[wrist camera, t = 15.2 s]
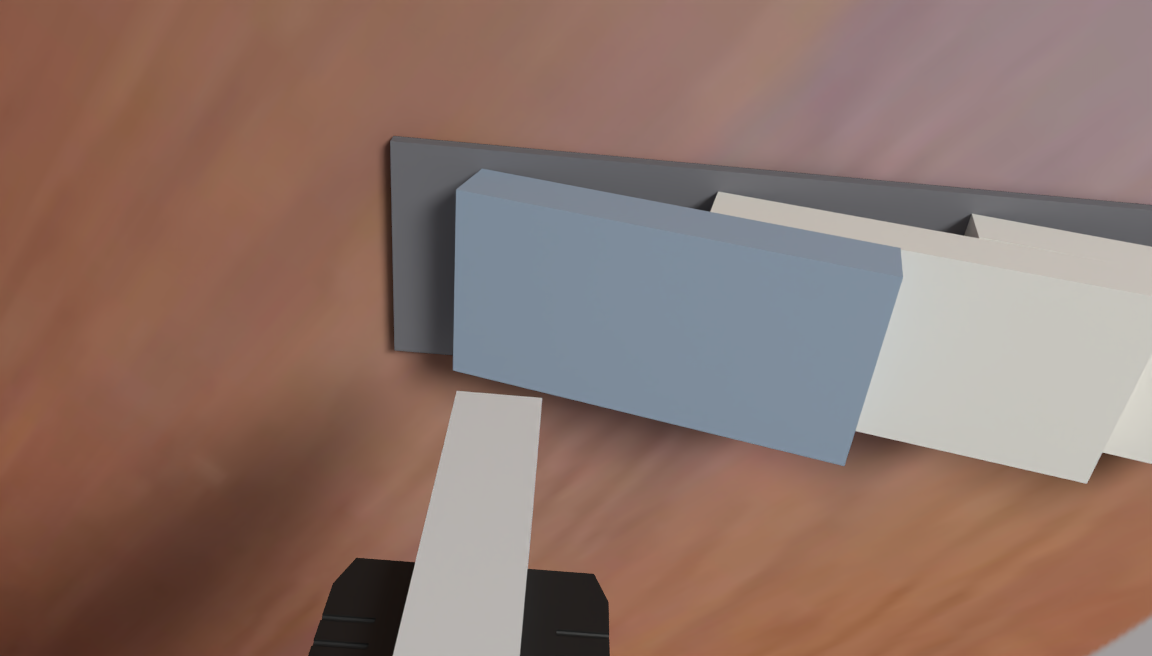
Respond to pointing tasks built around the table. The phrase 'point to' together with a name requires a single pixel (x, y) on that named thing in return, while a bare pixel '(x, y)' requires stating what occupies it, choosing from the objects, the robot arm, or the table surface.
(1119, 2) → the table surface
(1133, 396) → the tile
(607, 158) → the strip
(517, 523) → the robot arm
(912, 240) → the tile
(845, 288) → the blue-grey tile
